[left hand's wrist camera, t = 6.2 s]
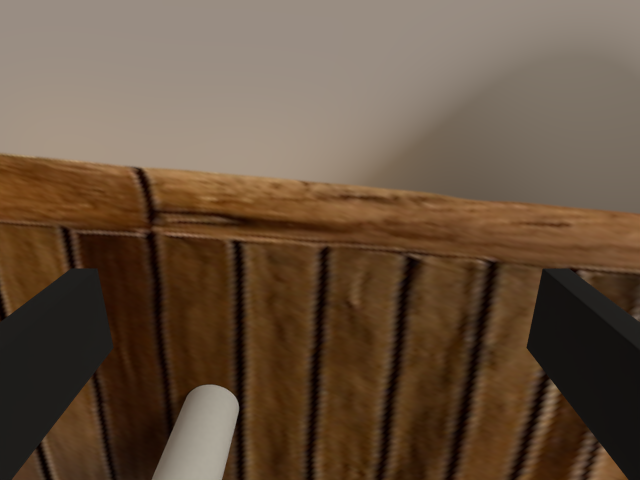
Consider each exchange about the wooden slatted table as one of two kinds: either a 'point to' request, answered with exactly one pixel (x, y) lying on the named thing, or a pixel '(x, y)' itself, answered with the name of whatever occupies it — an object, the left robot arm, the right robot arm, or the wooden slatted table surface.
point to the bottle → (200, 436)
